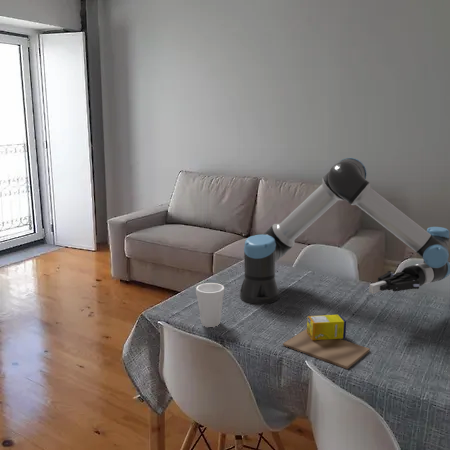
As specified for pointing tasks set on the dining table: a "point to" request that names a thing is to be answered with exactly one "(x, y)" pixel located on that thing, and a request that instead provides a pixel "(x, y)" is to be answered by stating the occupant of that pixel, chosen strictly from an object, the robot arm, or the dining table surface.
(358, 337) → the dining table surface
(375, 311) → the dining table surface
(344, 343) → the brown flat board
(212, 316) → the foam cup
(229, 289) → the dining table surface
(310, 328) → the supplement box
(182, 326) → the dining table surface
